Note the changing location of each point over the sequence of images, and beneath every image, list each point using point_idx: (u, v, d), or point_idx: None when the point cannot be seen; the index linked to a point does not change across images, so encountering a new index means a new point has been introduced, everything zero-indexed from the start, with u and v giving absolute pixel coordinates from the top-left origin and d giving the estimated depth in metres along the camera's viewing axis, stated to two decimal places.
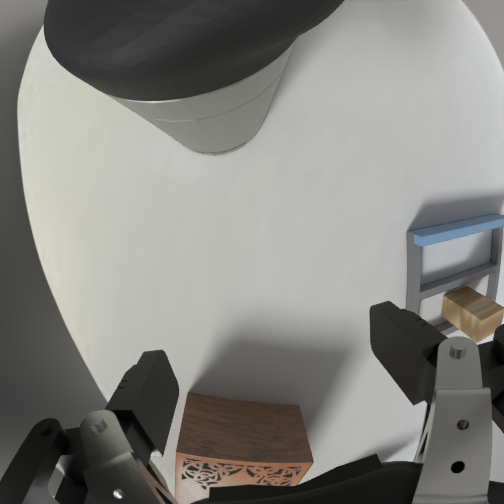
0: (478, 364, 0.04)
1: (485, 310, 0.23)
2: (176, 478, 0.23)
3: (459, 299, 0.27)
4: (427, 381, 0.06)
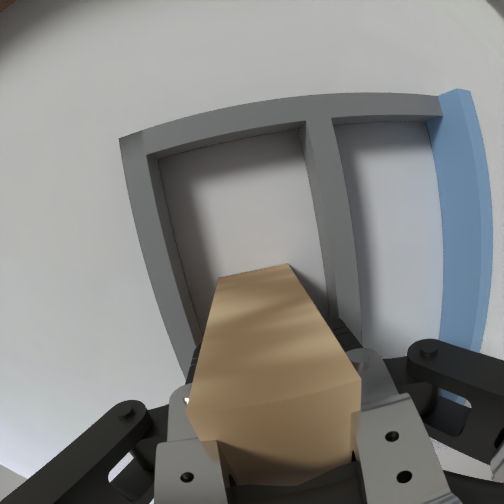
0: (373, 380, 0.05)
1: None
2: None
3: None
4: None
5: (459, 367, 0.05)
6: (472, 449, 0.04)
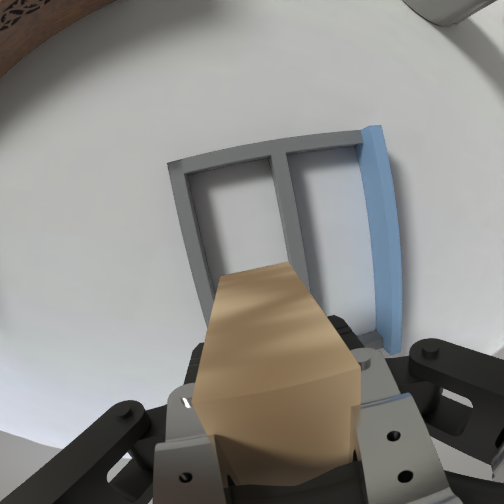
0: (375, 379, 0.05)
1: None
2: None
3: None
4: None
5: (461, 367, 0.05)
6: (473, 449, 0.04)
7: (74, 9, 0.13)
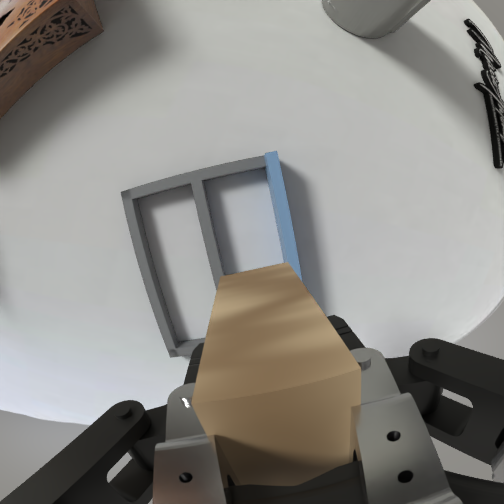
0: (375, 379, 0.05)
1: None
2: None
3: None
4: None
5: (461, 367, 0.05)
6: (473, 449, 0.04)
7: (58, 52, 0.20)
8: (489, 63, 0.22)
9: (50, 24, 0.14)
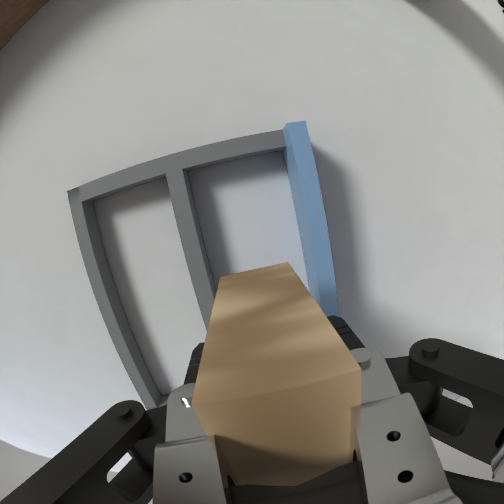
0: (375, 379, 0.05)
1: None
2: None
3: None
4: None
5: (461, 367, 0.05)
6: (473, 449, 0.04)
7: (23, 8, 0.10)
8: None
9: None
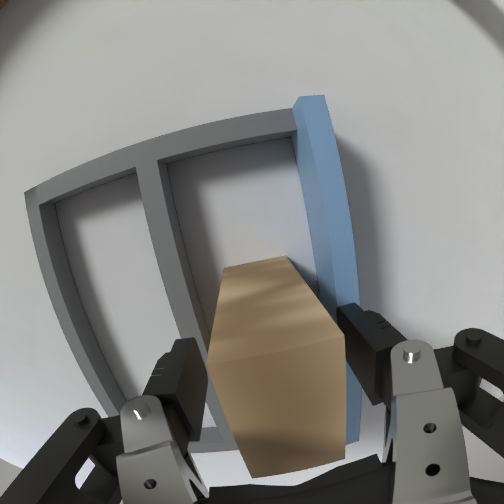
0: (429, 369, 0.05)
1: None
2: None
3: None
4: (383, 382, 0.07)
5: (498, 357, 0.04)
6: (499, 444, 0.03)
7: None
8: None
9: None
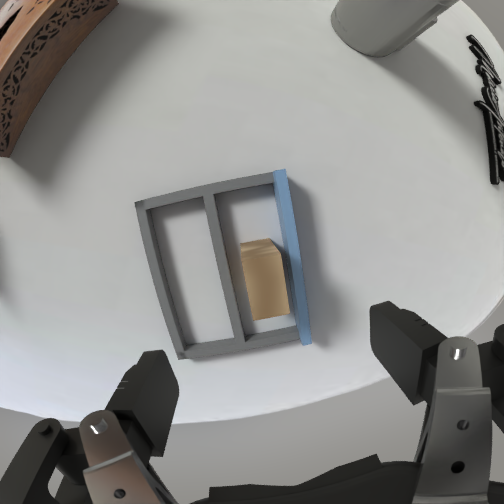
0: (478, 364, 0.04)
1: None
2: None
3: None
4: (427, 381, 0.06)
5: None
6: None
7: (83, 27, 0.20)
8: (490, 80, 0.24)
9: None
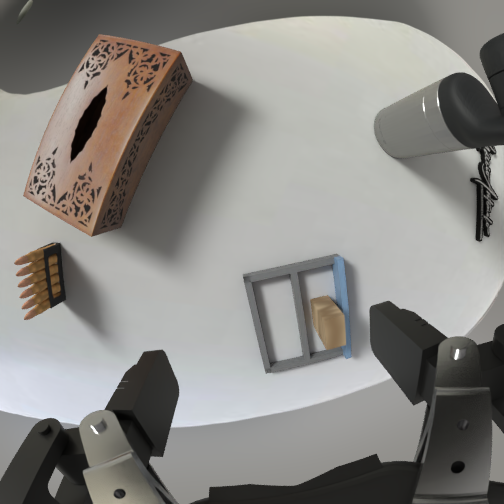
0: (478, 364, 0.04)
1: None
2: (75, 71, 0.26)
3: None
4: (427, 381, 0.06)
5: None
6: None
7: (171, 107, 0.35)
8: (486, 155, 0.39)
9: (169, 82, 0.30)
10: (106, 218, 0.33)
